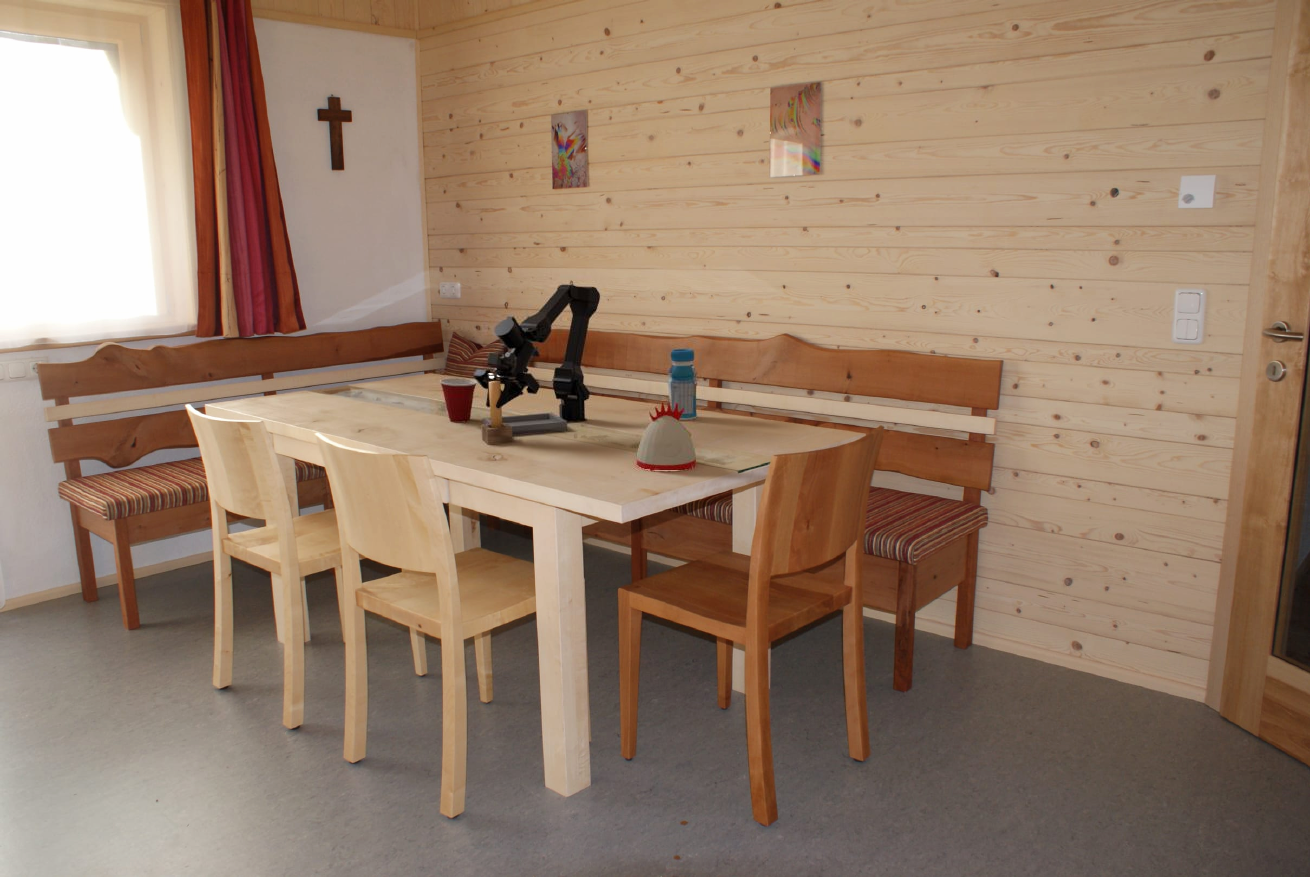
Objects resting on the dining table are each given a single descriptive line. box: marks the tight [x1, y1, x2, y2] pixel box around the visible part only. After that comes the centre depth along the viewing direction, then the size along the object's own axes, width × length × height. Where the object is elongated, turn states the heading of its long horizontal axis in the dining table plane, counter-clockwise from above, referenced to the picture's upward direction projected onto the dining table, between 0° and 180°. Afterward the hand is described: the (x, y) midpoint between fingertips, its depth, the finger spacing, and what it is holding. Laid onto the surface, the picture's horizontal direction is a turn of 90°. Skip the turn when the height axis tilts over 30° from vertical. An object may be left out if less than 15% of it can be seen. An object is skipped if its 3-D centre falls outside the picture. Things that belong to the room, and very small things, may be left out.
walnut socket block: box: [481, 423, 514, 445], centre depth 256 cm, size 7×7×4 cm
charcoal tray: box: [482, 412, 568, 436], centre depth 272 cm, size 20×15×2 cm
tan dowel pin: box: [489, 381, 503, 428], centre depth 254 cm, size 3×3×13 cm
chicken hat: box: [636, 401, 697, 471], centre depth 227 cm, size 14×14×15 cm
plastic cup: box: [439, 377, 478, 423], centre depth 284 cm, size 11×11×12 cm
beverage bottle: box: [667, 348, 698, 421], centre depth 283 cm, size 8×8×20 cm
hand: (492, 407), depth 253 cm, fingers closed on tan dowel pin, 3 cm apart
